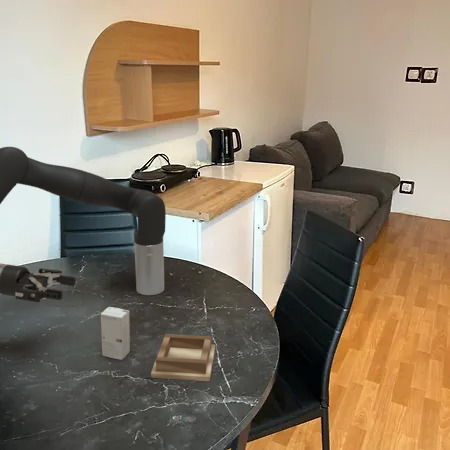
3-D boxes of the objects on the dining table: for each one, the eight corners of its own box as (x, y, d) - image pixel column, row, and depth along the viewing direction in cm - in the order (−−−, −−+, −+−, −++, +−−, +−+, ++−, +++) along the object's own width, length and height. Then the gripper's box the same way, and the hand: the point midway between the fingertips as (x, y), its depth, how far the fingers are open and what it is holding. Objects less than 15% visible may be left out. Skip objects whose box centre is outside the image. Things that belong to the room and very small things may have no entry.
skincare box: (101, 356, 122) (98, 313, 118) (110, 347, 126) (108, 305, 122) (123, 360, 120) (120, 317, 116) (131, 351, 124) (129, 309, 121)
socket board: (162, 345, 127) (162, 331, 126) (215, 348, 126) (215, 334, 125) (151, 377, 114) (150, 362, 112) (209, 381, 113) (209, 366, 112)
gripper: (-11, 276, 111) (58, 285, 110) (18, 255, 124) (79, 264, 124) (-11, 305, 113) (57, 314, 112) (18, 282, 126) (78, 290, 126)
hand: (69, 288), depth 118 cm, fingers open, 8 cm apart
